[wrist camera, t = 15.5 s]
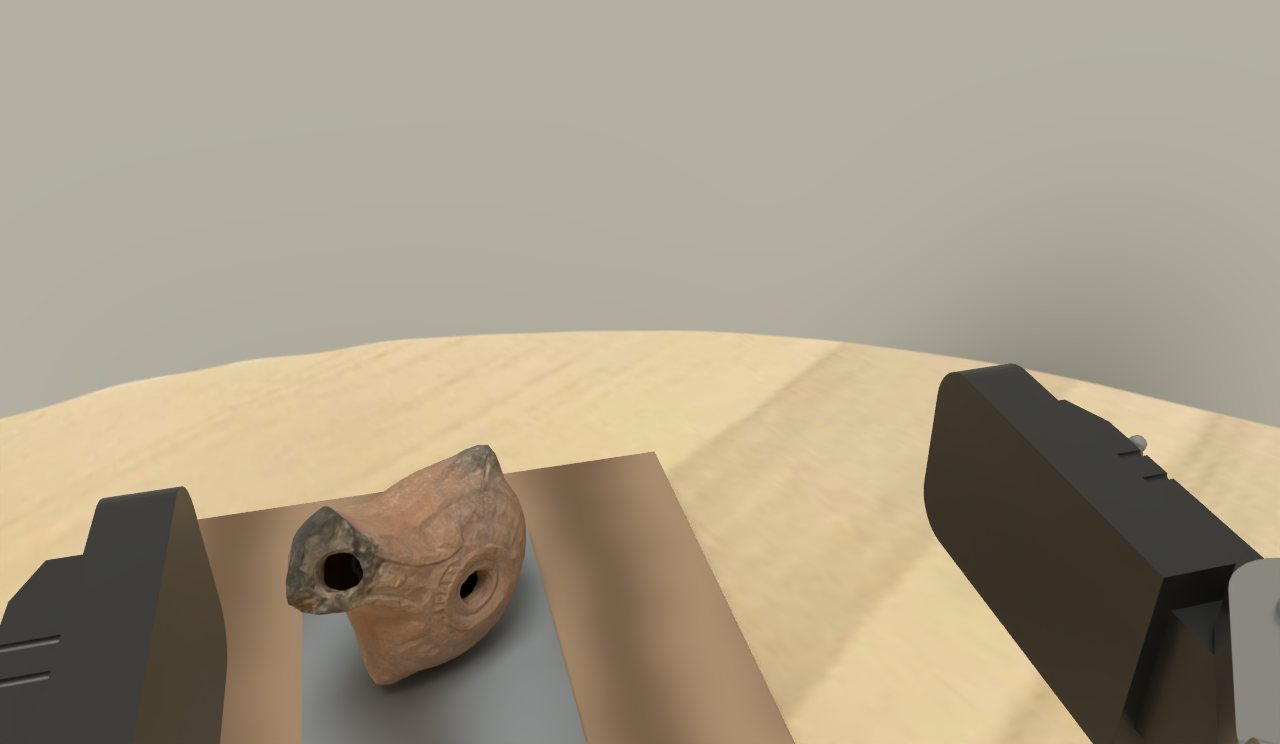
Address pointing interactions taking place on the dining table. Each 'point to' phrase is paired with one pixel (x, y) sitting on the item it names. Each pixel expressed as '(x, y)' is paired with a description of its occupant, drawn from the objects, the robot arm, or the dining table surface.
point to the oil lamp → (415, 564)
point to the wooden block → (509, 634)
